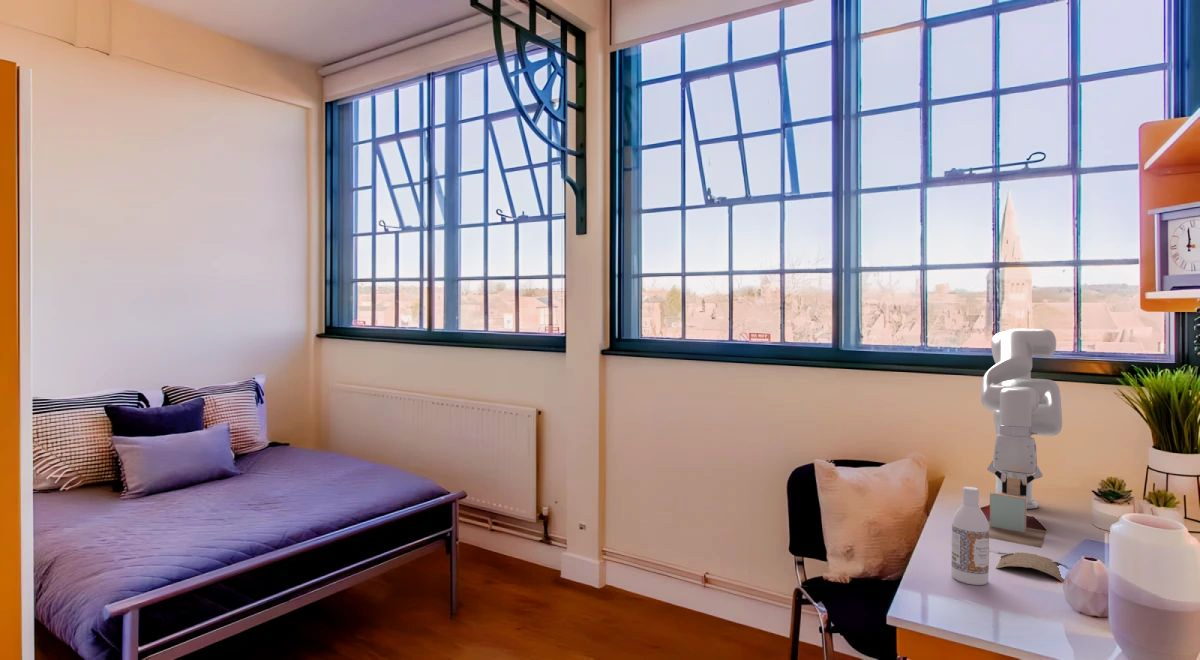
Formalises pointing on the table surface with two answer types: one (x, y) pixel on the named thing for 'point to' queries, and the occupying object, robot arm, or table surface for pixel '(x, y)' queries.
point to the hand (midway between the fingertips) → (1014, 496)
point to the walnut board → (1018, 536)
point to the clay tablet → (1031, 563)
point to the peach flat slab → (1008, 512)
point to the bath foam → (970, 541)
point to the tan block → (1013, 486)
